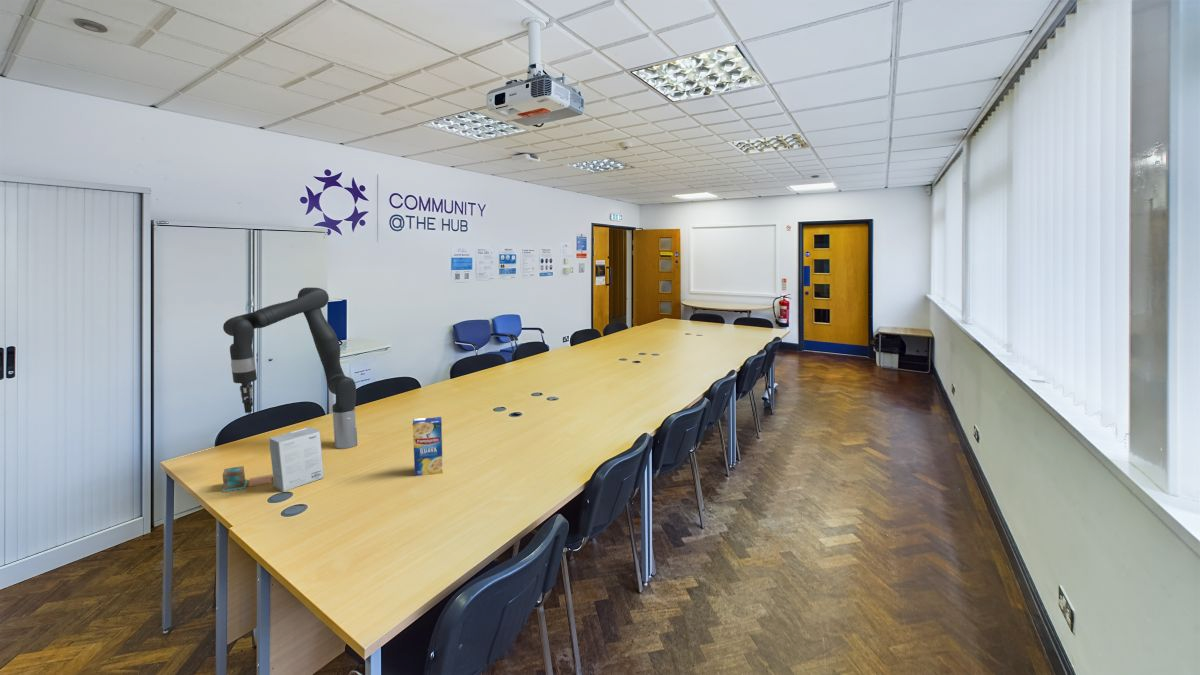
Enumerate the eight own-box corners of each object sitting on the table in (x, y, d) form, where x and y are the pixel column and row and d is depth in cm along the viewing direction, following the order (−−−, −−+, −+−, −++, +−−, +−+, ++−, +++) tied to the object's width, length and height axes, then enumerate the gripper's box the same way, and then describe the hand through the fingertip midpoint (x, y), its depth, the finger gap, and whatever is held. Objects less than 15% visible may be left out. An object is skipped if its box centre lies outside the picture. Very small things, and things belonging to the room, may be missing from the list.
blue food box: (415, 469, 207) (413, 418, 203) (443, 466, 210) (441, 416, 206) (414, 476, 200) (412, 424, 197) (442, 473, 203) (441, 422, 200)
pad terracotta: (271, 475, 198) (271, 474, 198) (270, 482, 192) (270, 481, 192) (250, 479, 194) (250, 478, 194) (248, 486, 188) (248, 485, 188)
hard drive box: (315, 473, 201) (311, 426, 198) (324, 478, 197) (321, 430, 194) (272, 487, 188) (268, 437, 185) (282, 492, 184) (277, 441, 181)
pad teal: (246, 481, 193) (246, 479, 193) (245, 488, 187) (245, 486, 187) (224, 485, 189) (224, 483, 189) (222, 492, 183) (222, 490, 183)
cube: (245, 480, 192) (243, 465, 191) (243, 486, 187) (242, 471, 186) (225, 483, 189) (224, 468, 188) (223, 490, 184) (222, 474, 183)
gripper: (254, 372, 187) (260, 412, 190) (256, 364, 199) (261, 403, 202) (230, 374, 183) (236, 416, 186) (233, 366, 195) (238, 406, 198)
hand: (249, 409), depth 194 cm, fingers open, 8 cm apart
